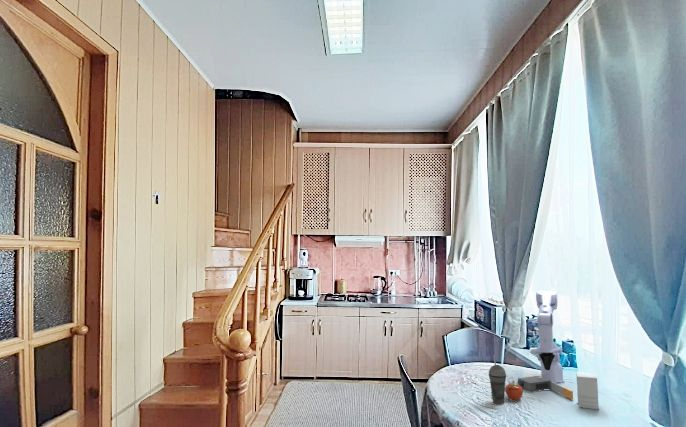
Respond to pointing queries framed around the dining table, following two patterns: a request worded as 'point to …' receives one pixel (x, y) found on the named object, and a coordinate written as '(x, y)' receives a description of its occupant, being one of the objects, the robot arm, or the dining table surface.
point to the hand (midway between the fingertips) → (547, 369)
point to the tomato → (514, 391)
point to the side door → (562, 390)
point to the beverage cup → (497, 383)
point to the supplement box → (587, 390)
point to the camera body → (534, 383)
